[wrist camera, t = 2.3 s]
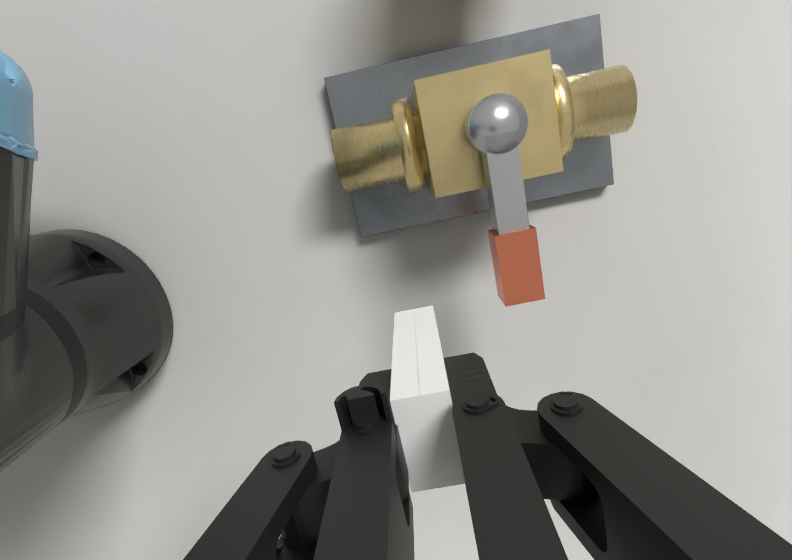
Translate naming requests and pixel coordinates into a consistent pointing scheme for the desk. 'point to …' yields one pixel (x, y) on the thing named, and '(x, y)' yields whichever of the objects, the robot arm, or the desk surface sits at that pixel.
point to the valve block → (445, 115)
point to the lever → (506, 196)
